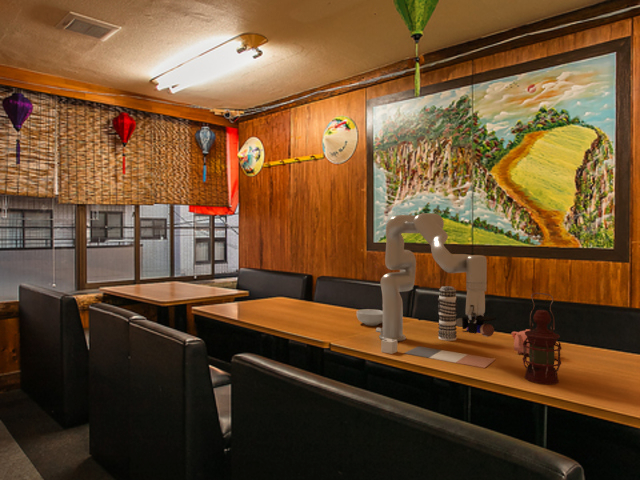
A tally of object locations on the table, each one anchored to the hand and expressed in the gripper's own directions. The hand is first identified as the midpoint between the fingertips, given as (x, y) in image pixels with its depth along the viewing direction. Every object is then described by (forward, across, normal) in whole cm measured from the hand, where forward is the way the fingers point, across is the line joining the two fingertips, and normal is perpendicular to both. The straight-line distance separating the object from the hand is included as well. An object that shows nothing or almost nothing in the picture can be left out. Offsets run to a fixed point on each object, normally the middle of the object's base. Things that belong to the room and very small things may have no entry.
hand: (476, 330), depth 173 cm
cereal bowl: (+12, -37, -69) cm, 79 cm away
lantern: (+12, +8, +25) cm, 29 cm away
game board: (+12, 0, -11) cm, 16 cm away
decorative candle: (+12, -30, -23) cm, 40 cm away
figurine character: (+1, 0, 0) cm, 1 cm away
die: (+12, +8, -34) cm, 37 cm away
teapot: (+12, -25, +14) cm, 31 cm away
